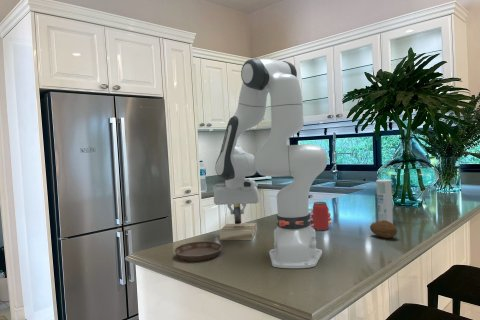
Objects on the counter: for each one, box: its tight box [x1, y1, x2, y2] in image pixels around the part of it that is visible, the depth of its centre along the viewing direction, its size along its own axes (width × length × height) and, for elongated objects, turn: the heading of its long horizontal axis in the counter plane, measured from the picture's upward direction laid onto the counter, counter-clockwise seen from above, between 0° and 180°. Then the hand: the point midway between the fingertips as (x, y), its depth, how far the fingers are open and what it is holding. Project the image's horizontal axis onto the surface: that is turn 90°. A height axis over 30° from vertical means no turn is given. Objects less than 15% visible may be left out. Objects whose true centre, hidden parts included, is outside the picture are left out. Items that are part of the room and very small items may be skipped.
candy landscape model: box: [308, 205, 333, 228], centre depth 178 cm, size 25×24×9 cm
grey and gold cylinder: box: [232, 204, 242, 224], centre depth 159 cm, size 3×3×9 cm
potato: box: [369, 220, 398, 239], centre depth 142 cm, size 7×12×7 cm, turn 36°
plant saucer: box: [174, 241, 223, 262], centre depth 135 cm, size 18×18×3 cm
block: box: [218, 222, 258, 241], centre depth 159 cm, size 14×14×4 cm
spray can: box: [375, 179, 394, 225], centre depth 163 cm, size 6×6×20 cm
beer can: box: [312, 201, 330, 231], centre depth 161 cm, size 7×7×12 cm
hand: (237, 213), depth 159 cm, fingers closed on grey and gold cylinder, 3 cm apart
